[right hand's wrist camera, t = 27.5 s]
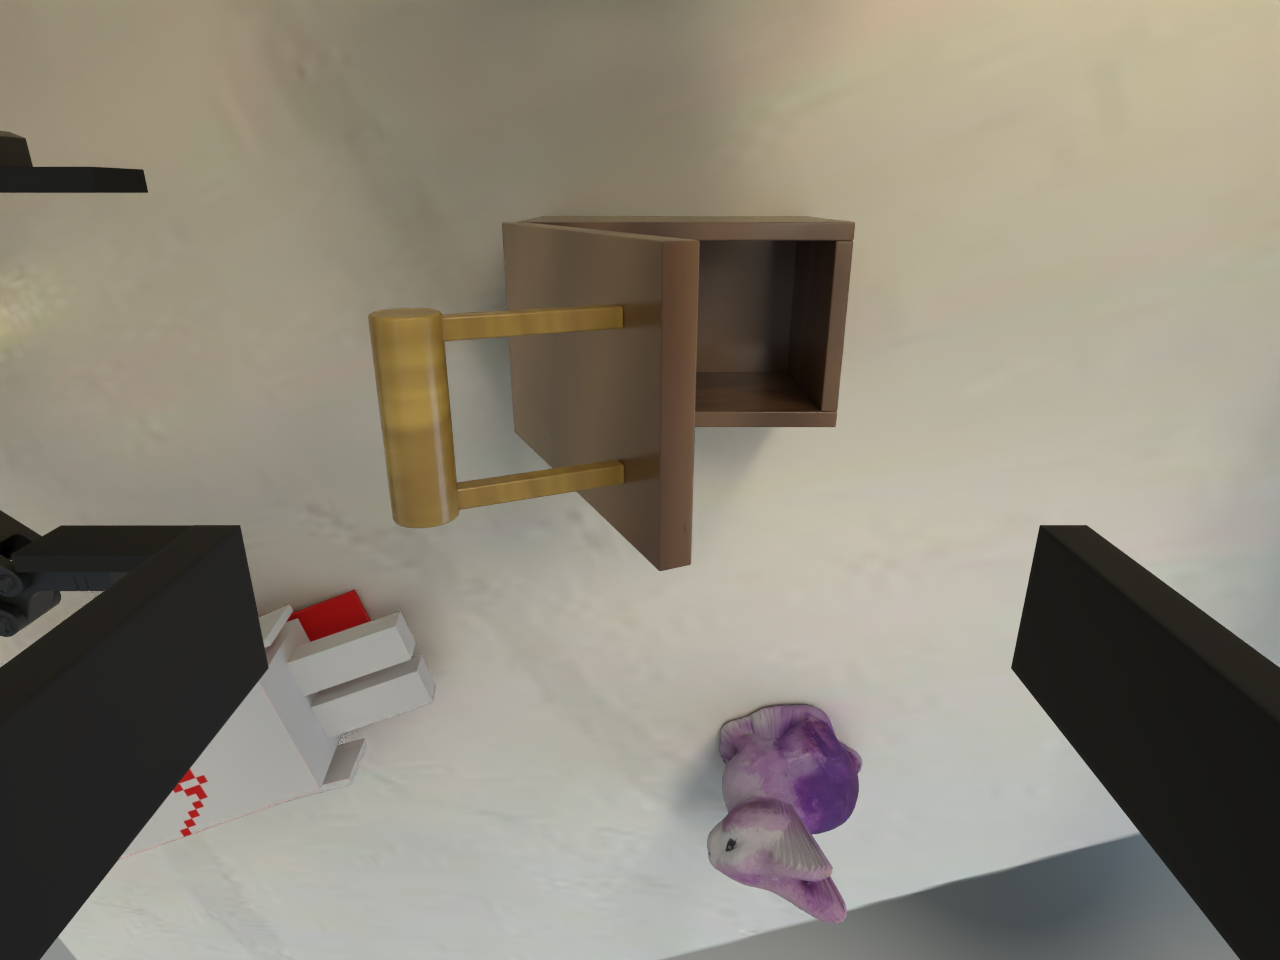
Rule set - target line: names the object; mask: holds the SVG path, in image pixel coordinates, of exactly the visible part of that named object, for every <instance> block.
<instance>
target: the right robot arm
mask: <svg viewBox="0 0 1280 960" xmlns="http://www.w3.org/2000/svg"><path fill="white" fill-rule="evenodd" d="M268 669H269V667H268V662H267V657H266V652H265V647H264V642H263V637H262V632H261V627H260V622H259V617H258V612H257V607H256V602H255V597H254V592H253V587H252V582H251V577H250V572H249V567H248V562H247V557H246V552H245V547H244V543H243V538H242V533H241V528H240V525H193V526H192V527H190V528H189V529H188V530H186V531H185V532H184V533H182V534H181V535H180V536H178V537H177V538H176V539H174V540H173V541H172V542H170V543H169V544H167V545H166V546H165V547H163V548H162V549H161V550H159V551H158V552H157V553H155V554H154V555H153V556H151V557H150V558H148V559H147V560H146V561H144V562H143V563H142V564H140V565H139V566H138V567H136V568H135V569H134V570H132V571H131V572H130V573H128V574H127V575H125V576H124V577H123V578H121V579H120V580H119V581H117V582H116V583H115V584H113V585H112V586H111V587H109V588H108V589H106V590H105V591H104V592H102V593H101V594H100V595H98V596H97V597H96V598H94V599H93V600H92V601H90V602H89V603H87V604H86V605H85V606H83V607H82V608H81V609H79V610H78V611H77V612H75V613H74V614H73V615H71V616H70V617H69V618H67V619H66V620H64V621H63V622H62V623H60V624H59V625H58V626H56V627H55V628H54V629H52V630H51V631H50V632H48V633H47V634H45V635H44V636H43V637H41V638H40V639H39V640H37V641H36V642H35V643H33V644H32V645H31V646H29V647H28V648H27V649H25V650H24V651H22V652H21V653H20V654H18V655H17V656H16V657H14V658H13V659H12V660H10V661H9V662H8V663H6V664H5V665H3V666H2V667H1V668H0V960H40V959H41V957H42V956H43V955H44V954H45V952H46V951H47V950H48V948H49V947H50V946H51V945H52V943H53V942H54V941H55V939H56V938H57V937H58V936H59V934H60V933H61V932H62V931H63V929H64V928H65V927H66V926H67V924H68V923H69V922H70V921H71V919H72V918H73V917H74V915H75V914H76V913H77V912H78V910H79V909H80V908H81V907H82V905H83V904H84V903H85V901H86V900H87V899H88V898H89V896H90V895H91V894H92V893H93V891H94V890H95V889H96V887H97V886H98V885H99V884H100V882H101V881H102V880H103V879H104V877H105V876H106V875H107V873H108V872H109V871H110V870H111V868H112V867H113V866H114V865H115V863H116V862H117V861H118V859H119V858H120V857H121V856H122V854H123V853H124V852H125V851H126V849H127V848H128V847H129V845H130V844H131V843H132V842H133V840H134V839H135V838H136V837H137V835H138V834H139V833H140V831H141V830H142V829H143V828H144V826H145V825H146V824H147V823H148V821H149V820H150V819H151V817H152V816H153V815H154V814H155V812H156V811H157V810H158V809H159V807H160V806H161V805H162V803H163V802H164V801H165V800H166V798H167V797H168V796H169V795H170V793H171V792H172V791H173V789H174V788H175V787H176V786H177V784H178V783H179V782H180V781H181V779H182V778H183V777H184V775H185V774H186V773H187V772H188V770H189V769H190V768H191V767H192V765H193V764H194V763H195V761H196V760H197V759H198V758H199V756H200V755H201V754H202V753H203V751H204V750H205V749H206V747H207V746H208V745H209V744H210V742H211V741H212V740H213V739H214V737H215V736H216V735H217V733H218V732H219V731H220V730H221V728H222V727H223V726H224V725H225V723H226V722H227V721H228V719H229V718H230V717H231V716H232V714H233V713H234V712H235V711H236V709H237V708H238V707H239V705H240V704H241V703H242V702H243V700H244V699H245V698H246V697H247V695H248V694H249V693H250V691H251V690H252V689H253V688H254V686H255V685H256V684H257V683H258V681H259V680H260V679H261V677H262V676H263V675H264V674H265V672H266V671H267V670H268ZM1011 669H1012V670H1013V671H1014V672H1015V674H1016V675H1017V676H1018V677H1019V679H1020V680H1021V681H1022V683H1023V684H1024V685H1025V686H1026V688H1027V689H1028V690H1029V691H1030V693H1031V694H1032V695H1033V697H1034V698H1035V699H1036V700H1037V702H1038V703H1039V704H1040V705H1041V707H1042V708H1043V709H1044V711H1045V712H1046V713H1047V714H1048V716H1049V717H1050V718H1051V719H1052V721H1053V722H1054V723H1055V725H1056V726H1057V727H1058V728H1059V730H1060V731H1061V732H1062V733H1063V735H1064V736H1065V737H1066V739H1067V740H1068V741H1069V742H1070V744H1071V745H1072V746H1073V747H1074V749H1075V750H1076V751H1077V753H1078V754H1079V755H1080V756H1081V758H1082V759H1083V760H1084V761H1085V763H1086V764H1087V765H1088V767H1089V768H1090V769H1091V770H1092V772H1093V773H1094V774H1095V775H1096V777H1097V778H1098V779H1099V781H1100V782H1101V783H1102V784H1103V786H1104V787H1105V788H1106V789H1107V791H1108V792H1109V793H1110V795H1111V796H1112V797H1113V798H1114V800H1115V801H1116V802H1117V803H1118V805H1119V806H1120V807H1121V809H1122V810H1123V811H1124V812H1125V814H1126V815H1127V816H1128V817H1129V819H1130V820H1131V821H1132V823H1133V824H1134V825H1135V826H1136V828H1137V829H1138V830H1139V831H1140V833H1141V834H1142V835H1143V836H1144V838H1145V839H1146V840H1147V842H1148V843H1149V844H1150V845H1151V847H1152V848H1153V849H1154V850H1155V852H1156V853H1157V854H1158V856H1159V857H1160V858H1161V859H1162V861H1163V862H1164V863H1165V865H1166V866H1167V867H1168V868H1169V870H1170V871H1171V872H1172V873H1173V875H1174V876H1175V877H1176V879H1177V880H1178V881H1179V882H1180V884H1181V885H1182V886H1183V887H1184V889H1185V890H1186V891H1187V893H1188V894H1189V895H1190V896H1191V898H1192V899H1193V900H1194V901H1195V903H1196V904H1197V905H1198V906H1199V908H1200V909H1201V910H1202V912H1203V913H1204V914H1205V915H1206V917H1207V918H1208V919H1209V921H1210V922H1211V923H1212V924H1213V926H1214V927H1215V928H1216V929H1217V931H1218V932H1219V933H1220V935H1221V936H1222V937H1223V938H1224V940H1225V941H1226V942H1227V943H1228V945H1229V946H1230V947H1231V948H1232V950H1233V951H1234V952H1235V954H1236V955H1237V956H1238V957H1239V959H1240V960H1280V668H1279V667H1278V666H1277V665H1275V664H1274V663H1272V662H1271V661H1270V660H1268V659H1267V658H1266V657H1264V656H1263V655H1262V654H1260V653H1259V652H1258V651H1256V650H1255V649H1253V648H1252V647H1251V646H1249V645H1248V644H1247V643H1245V642H1244V641H1243V640H1241V639H1240V638H1239V637H1237V636H1236V635H1235V634H1233V633H1232V632H1230V631H1229V630H1228V629H1226V628H1225V627H1224V626H1222V625H1221V624H1220V623H1218V622H1217V621H1216V620H1214V619H1213V618H1211V617H1210V616H1209V615H1207V614H1206V613H1205V612H1203V611H1202V610H1201V609H1199V608H1198V607H1197V606H1195V605H1194V604H1193V603H1191V602H1190V601H1188V600H1187V599H1186V598H1184V597H1183V596H1182V595H1180V594H1179V593H1178V592H1176V591H1175V590H1174V589H1172V588H1171V587H1169V586H1168V585H1167V584H1165V583H1164V582H1163V581H1161V580H1160V579H1159V578H1157V577H1156V576H1155V575H1153V574H1152V573H1150V572H1149V571H1148V570H1146V569H1145V568H1144V567H1142V566H1141V565H1140V564H1138V563H1137V562H1136V561H1134V560H1133V559H1132V558H1130V557H1129V556H1127V555H1126V554H1125V553H1123V552H1122V551H1121V550H1119V549H1118V548H1117V547H1115V546H1114V545H1113V544H1111V543H1110V542H1108V541H1107V540H1106V539H1104V538H1103V537H1102V536H1100V535H1099V534H1098V533H1096V532H1095V531H1094V530H1092V529H1091V528H1090V527H1088V526H1087V525H1040V528H1039V533H1038V538H1037V543H1036V547H1035V552H1034V557H1033V562H1032V567H1031V572H1030V577H1029V582H1028V587H1027V592H1026V597H1025V602H1024V607H1023V612H1022V617H1021V622H1020V627H1019V632H1018V637H1017V642H1016V647H1015V652H1014V657H1013V662H1012V667H1011Z"/></svg>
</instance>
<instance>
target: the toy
mask: <svg viewBox="0 0 1280 960" xmlns="http://www.w3.org/2000/svg"><path fill="white" fill-rule="evenodd" d="M293 611H294V610H293V608H292V607H291V606H290V604H288V605H286V606H283V607H281V608H279V609H277V610H275V611H272V612H270V613H268V614H266V615H263V616H261V617H259V622H260V627H261V632H262V637H263V642H264V647H265V652H266V657H267V662H268V667H269V669H268V670H267V671H266V672H265V674H264V675H263V676H262V677H261V679H260V680H259V681H258V683H257V684H256V685H255V686H254V688H253V689H252V690H251V691H250V693H249V694H248V695H247V697H246V698H245V699H244V700H243V702H242V703H241V704H240V705H239V707H238V708H237V709H236V711H235V712H234V713H233V714H232V716H231V717H230V718H229V719H228V721H227V722H226V723H225V725H224V726H223V727H222V728H221V730H220V731H219V732H218V733H217V735H216V736H215V737H214V739H213V740H212V741H211V742H210V744H209V745H208V746H207V747H206V749H205V750H204V751H203V753H202V754H201V755H200V756H199V758H198V759H197V760H196V761H195V763H194V764H193V765H192V767H191V768H190V769H189V770H188V772H187V773H186V774H185V775H184V777H183V778H182V779H181V781H180V782H179V783H178V784H177V786H176V787H175V788H174V789H173V791H172V792H171V793H170V795H169V796H168V797H167V798H166V800H165V801H164V802H163V803H162V805H161V806H160V807H159V809H158V810H157V811H156V812H155V814H154V815H153V816H152V817H151V819H150V820H149V821H148V823H147V824H146V825H145V826H144V828H143V829H142V830H141V831H140V833H139V834H138V835H137V837H136V838H135V839H134V840H133V842H132V843H131V844H130V845H129V847H128V848H127V849H126V851H125V852H124V853H123V854H122V856H121V857H120V858H119V859H122V858H124V857H127V856H130V855H133V854H136V853H139V852H142V851H145V850H147V849H150V848H153V847H156V846H159V845H162V844H165V843H167V842H170V841H173V840H176V839H179V838H182V837H185V836H188V835H190V834H193V833H196V832H199V831H202V830H205V829H208V828H210V827H213V826H216V825H219V824H222V823H225V822H228V821H231V820H233V819H236V818H239V817H242V816H245V815H248V814H251V813H253V812H256V811H259V810H262V809H265V808H268V807H271V806H274V805H276V804H279V803H282V802H286V801H290V800H294V799H298V798H301V797H305V796H309V795H313V794H317V793H321V792H325V791H329V790H332V789H336V788H340V787H344V786H348V785H352V782H353V780H354V777H355V774H356V772H357V769H358V767H359V764H360V761H361V759H362V756H363V754H364V751H365V748H366V746H367V744H366V741H365V739H361V740H357V741H353V742H350V743H346V744H342V745H338V742H339V740H340V737H341V735H342V734H344V733H347V732H349V731H352V730H355V729H358V728H361V727H364V726H367V725H370V724H372V723H375V722H378V721H381V720H384V719H387V718H390V717H393V716H396V715H398V714H401V713H404V712H407V711H410V710H413V709H416V708H419V707H421V706H424V705H427V704H430V703H432V702H433V697H434V692H435V688H436V684H435V682H434V680H433V678H432V676H431V674H430V672H429V670H428V667H427V665H426V663H425V661H424V659H423V657H422V655H419V656H416V657H413V658H412V655H413V652H414V648H415V645H416V642H415V640H414V638H413V636H412V634H411V632H410V630H409V627H408V625H407V623H406V621H405V619H404V617H403V615H402V613H401V611H399V612H396V613H393V614H390V615H388V616H385V617H382V618H379V619H376V620H373V621H371V620H370V618H369V616H368V614H367V612H366V610H365V608H364V606H363V605H362V603H361V601H360V599H359V597H358V595H357V593H356V591H355V590H353V591H350V592H347V593H345V594H342V595H339V596H337V597H334V598H331V599H329V600H326V601H323V602H321V603H318V604H315V605H313V606H310V607H307V608H305V609H302V610H299V611H297V612H294V613H292V612H293ZM337 745H338V746H337ZM119 859H118V860H119Z"/></svg>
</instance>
